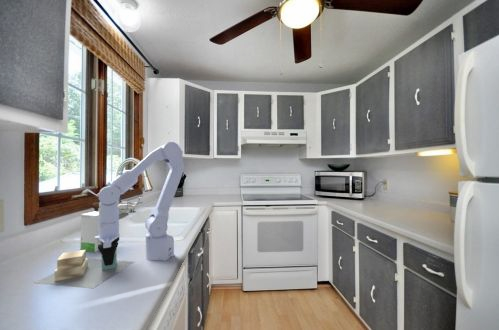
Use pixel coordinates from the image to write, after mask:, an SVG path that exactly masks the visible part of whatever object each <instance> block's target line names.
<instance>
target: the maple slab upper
mask: <svg viewBox="0 0 499 330" xmlns="http://www.w3.org/2000/svg"><path fill="white" fill-rule="evenodd" d="M86 255H87V253H86V250H80V249H79V250H74V251H67V252H63V253H61V255H60V256H59V257H58V258H57V260H56V263H57V265H56V269H57V270H61V269H66V268H72V267H77V266H82V265H83V263H84V261H85V259H86V258H87V256H86Z"/></svg>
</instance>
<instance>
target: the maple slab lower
mask: <svg viewBox="0 0 499 330" xmlns="http://www.w3.org/2000/svg"><path fill="white" fill-rule="evenodd" d="M88 259H89V258H88V257H86V259H85V261H84V263H83V265H82V266H77V267H72V268H66V269H61V270H57V268H55V270H54V273H55V281H59V280H64V279H69V278H74V277H79V276H84V274H85V272H86V270H87V267H88Z"/></svg>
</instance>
